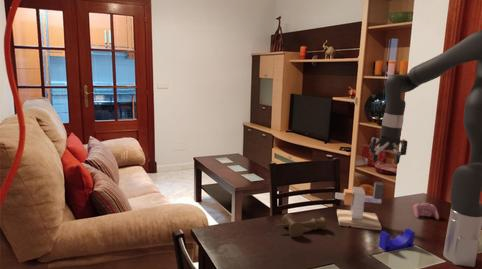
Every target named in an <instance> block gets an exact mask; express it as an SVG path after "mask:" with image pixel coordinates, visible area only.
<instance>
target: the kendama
mask: <svg viewBox="0 0 482 269" xmlns="http://www.w3.org/2000/svg"><path fill="white" fill-rule="evenodd" d="M327 225H328V223H327V219H326V218H325V216H324V217H323V216H320V218H314V217H313V218H311V219H310V220H306V221H301V222H300V221H296V218H295V215H294V214H292V213H287V214H286V213H285V214H284V215H283V216H282V218H281V223H279V224H276V227H279V228H280V227H281V228H282V227H285V228H288V234H289V236H291V237H292V238H299V237H301V236H302V235H303V234H304V230H305V228H310V229H313V230H315V231H316V230H317V229H321V230H322V231H326V229H327Z"/></svg>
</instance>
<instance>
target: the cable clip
mask: <svg viewBox="0 0 482 269" xmlns="http://www.w3.org/2000/svg"><path fill="white" fill-rule="evenodd" d="M379 234H380V235H379V242H378V247H379V248H380V249H381V250H383V252H385V251H393V250H402V249H408V248H409V249H411V248H413V246H414V239H415V234H416V232H415V231H414V230H412V229H410V228H405V229H404V232H403V234H398V235H397V236H395V237H394V238H391V234H389V233H388V232H386V231H385V230H383V231H381V230H380V233H379Z"/></svg>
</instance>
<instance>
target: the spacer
mask: <svg viewBox="0 0 482 269" xmlns="http://www.w3.org/2000/svg"><path fill="white" fill-rule="evenodd" d="M352 189H353V188H352ZM352 189H349V188H343V193H344V195H345V198H344V200H343V199H342V201H343V205H346V206H351V205H352V199H353V192H352Z"/></svg>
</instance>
